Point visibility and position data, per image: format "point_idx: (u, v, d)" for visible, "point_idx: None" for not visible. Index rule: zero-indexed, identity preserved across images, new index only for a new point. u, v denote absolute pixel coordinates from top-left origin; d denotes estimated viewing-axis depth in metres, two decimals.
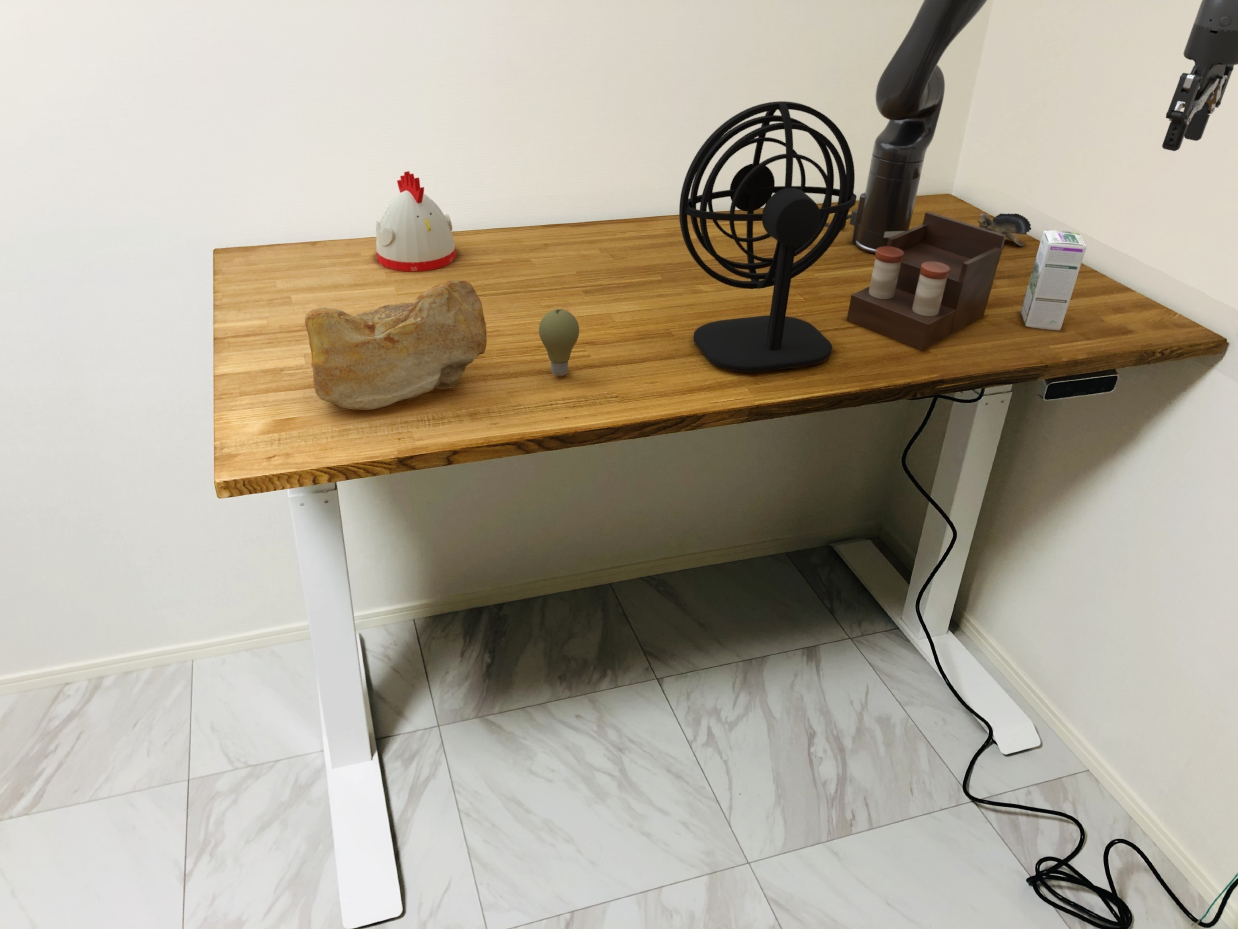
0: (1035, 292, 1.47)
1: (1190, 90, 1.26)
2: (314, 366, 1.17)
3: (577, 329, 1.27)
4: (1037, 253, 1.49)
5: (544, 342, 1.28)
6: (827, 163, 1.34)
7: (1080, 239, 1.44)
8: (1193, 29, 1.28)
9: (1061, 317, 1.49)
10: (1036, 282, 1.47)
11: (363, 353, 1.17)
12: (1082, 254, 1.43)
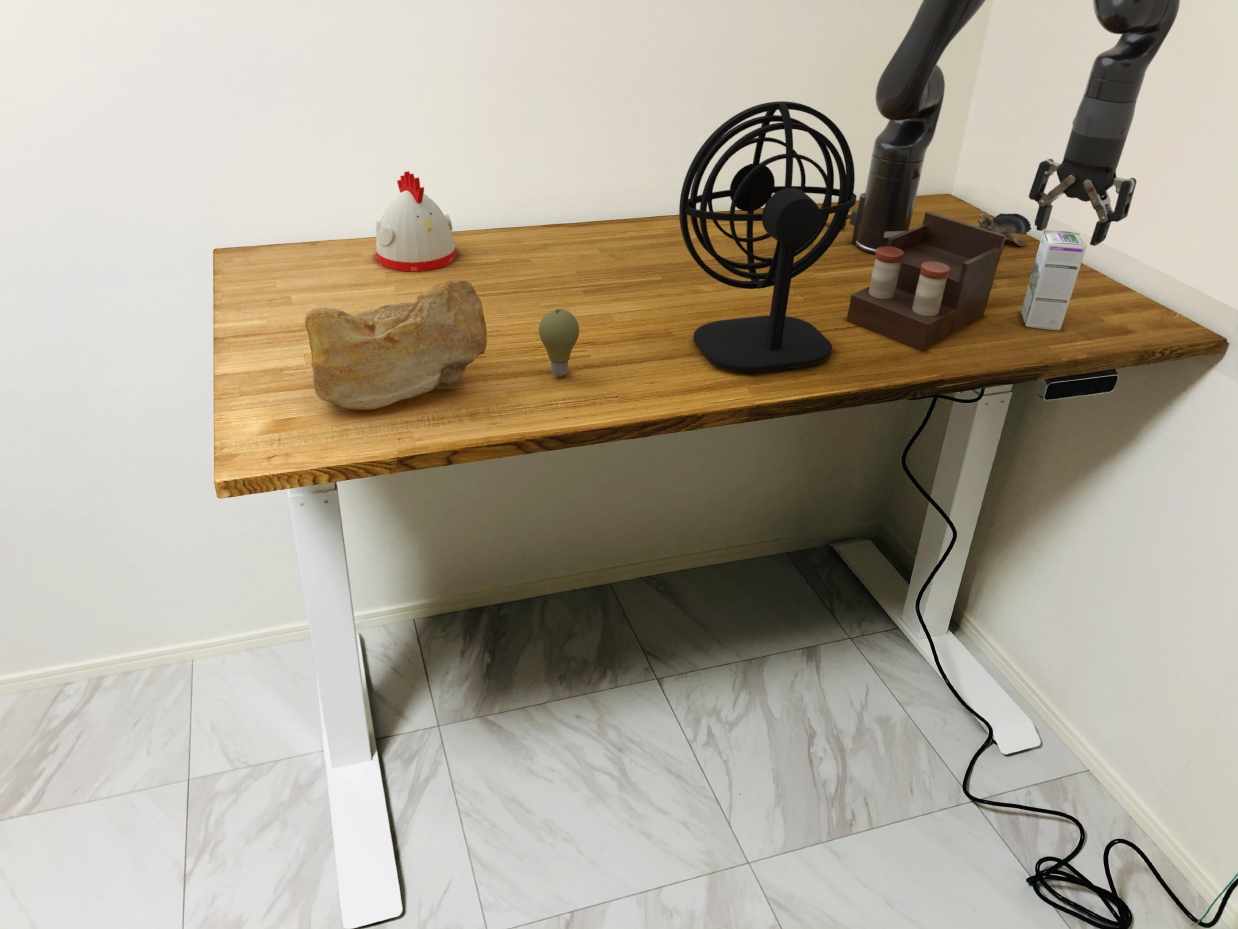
0: (1035, 292, 1.47)
1: None
2: (314, 366, 1.17)
3: (577, 329, 1.27)
4: (1037, 253, 1.49)
5: (544, 342, 1.28)
6: (827, 163, 1.34)
7: (1080, 239, 1.44)
8: None
9: (1061, 316, 1.49)
10: (1036, 282, 1.47)
11: (363, 353, 1.17)
12: (1082, 254, 1.43)
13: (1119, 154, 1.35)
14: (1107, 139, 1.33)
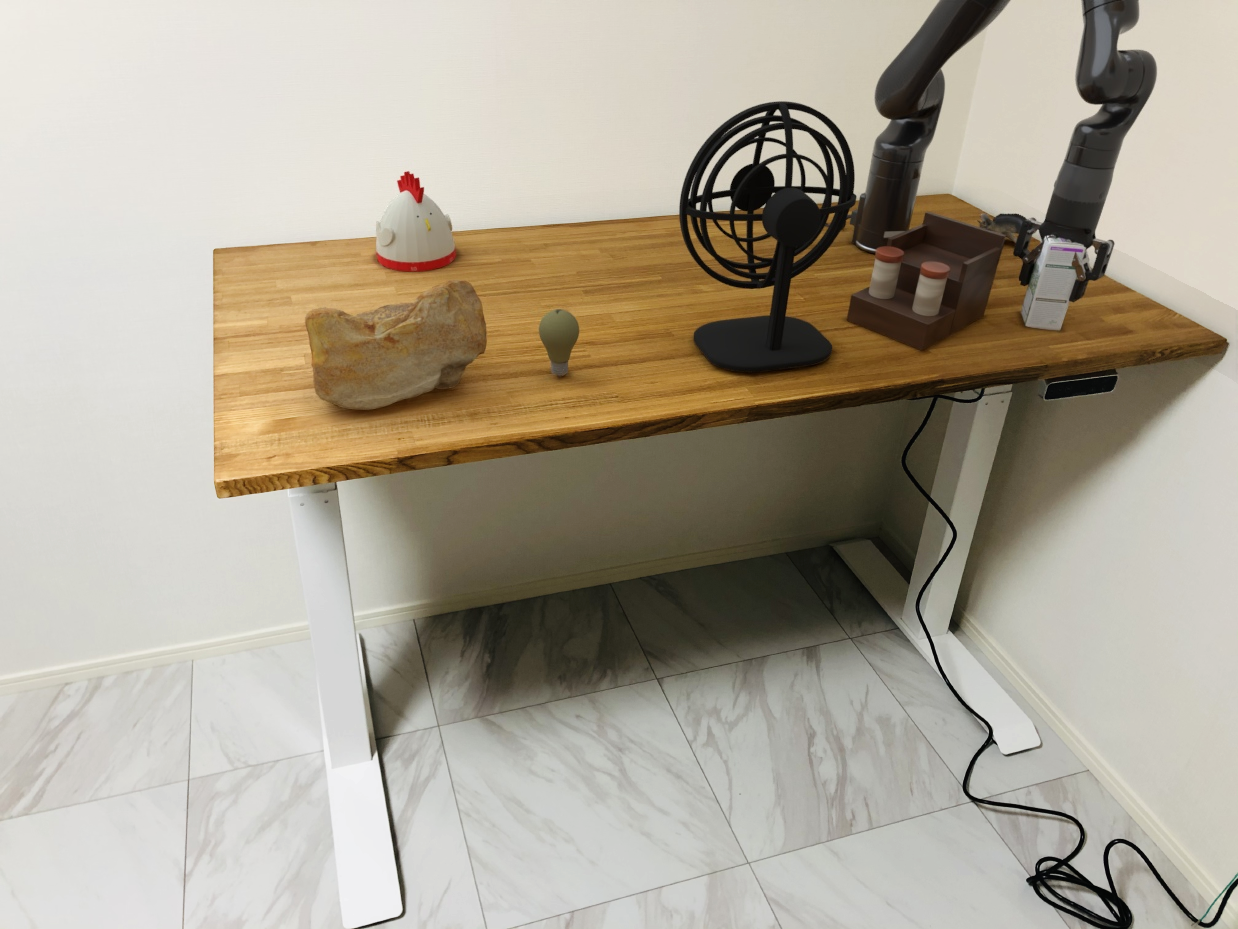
0: (1035, 292, 1.47)
1: None
2: (314, 366, 1.17)
3: (577, 329, 1.27)
4: None
5: (544, 342, 1.28)
6: (827, 163, 1.34)
7: None
8: None
9: (1061, 317, 1.49)
10: (1036, 282, 1.47)
11: (363, 353, 1.17)
12: (1082, 254, 1.43)
13: (1098, 216, 1.40)
14: (1086, 203, 1.38)
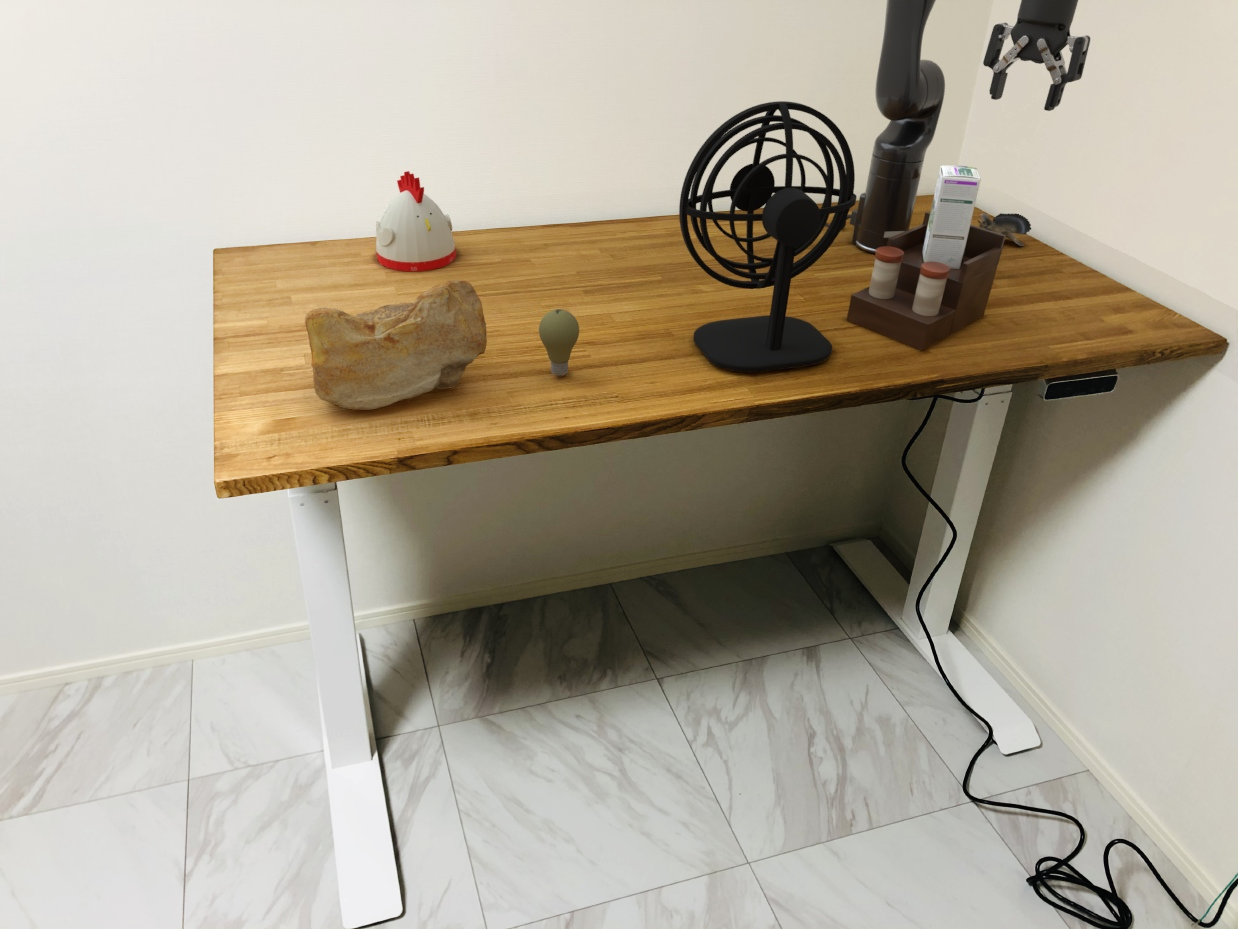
0: (932, 228, 1.44)
1: None
2: (314, 366, 1.17)
3: (577, 329, 1.27)
4: (935, 189, 1.45)
5: (544, 342, 1.28)
6: (827, 163, 1.34)
7: (975, 173, 1.40)
8: None
9: (959, 254, 1.45)
10: (933, 218, 1.43)
11: (363, 353, 1.17)
12: (976, 187, 1.39)
13: (1072, 10, 1.31)
14: None
